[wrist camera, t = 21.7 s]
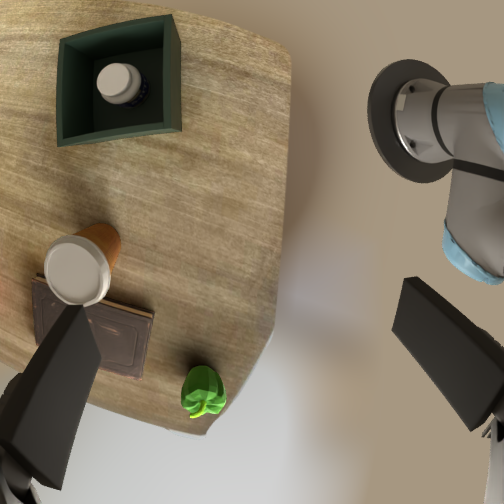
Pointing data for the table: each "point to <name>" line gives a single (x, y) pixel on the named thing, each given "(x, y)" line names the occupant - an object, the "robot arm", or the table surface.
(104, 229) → the disposable coffee cup
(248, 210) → the table surface
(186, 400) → the bell pepper
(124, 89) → the pill bottle
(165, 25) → the waste bin
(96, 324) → the hardcover book
